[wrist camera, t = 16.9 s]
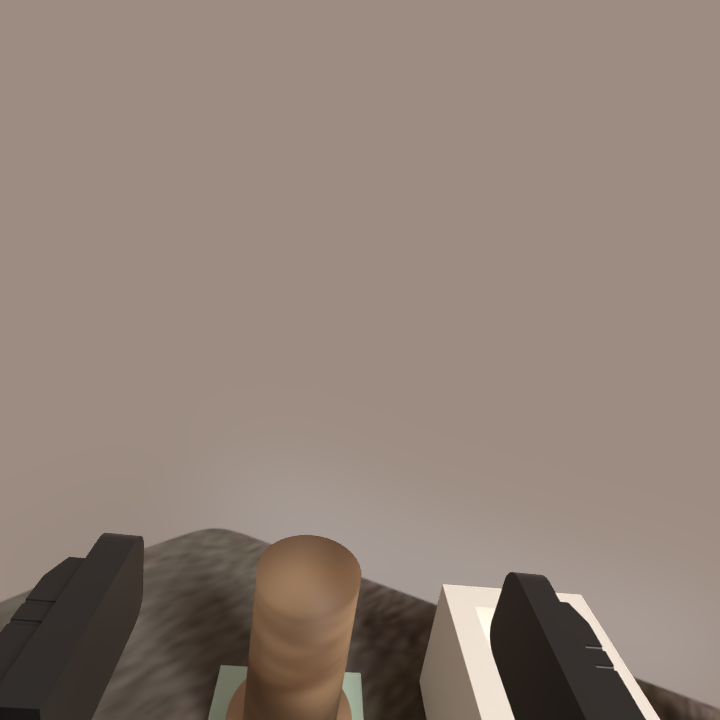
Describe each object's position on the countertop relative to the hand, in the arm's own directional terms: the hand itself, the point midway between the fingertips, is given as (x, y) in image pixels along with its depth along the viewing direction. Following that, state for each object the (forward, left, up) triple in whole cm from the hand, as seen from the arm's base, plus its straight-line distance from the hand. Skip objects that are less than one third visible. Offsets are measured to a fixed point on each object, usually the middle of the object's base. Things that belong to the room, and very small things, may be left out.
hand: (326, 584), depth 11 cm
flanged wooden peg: (0, +10, -21) cm, 23 cm away
